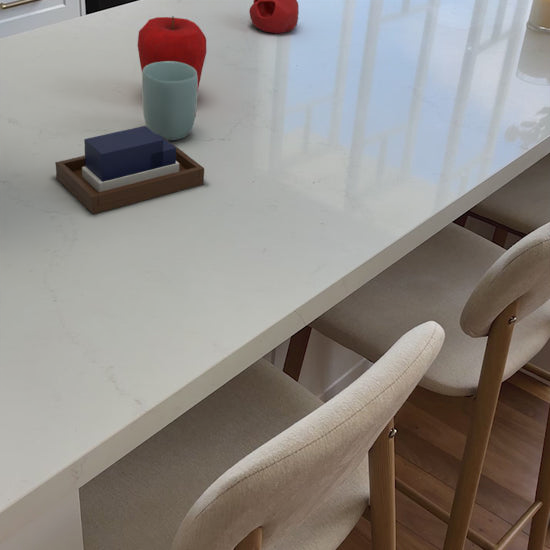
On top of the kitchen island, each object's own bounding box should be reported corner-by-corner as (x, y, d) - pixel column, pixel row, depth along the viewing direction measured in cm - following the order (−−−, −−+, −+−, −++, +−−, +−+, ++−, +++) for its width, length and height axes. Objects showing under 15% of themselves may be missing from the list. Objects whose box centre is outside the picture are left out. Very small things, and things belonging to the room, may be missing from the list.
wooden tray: (93, 214, 112) (92, 197, 111) (56, 178, 119) (55, 162, 117) (203, 184, 121) (204, 168, 119) (163, 152, 127) (164, 137, 126)
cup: (204, 140, 132) (207, 76, 126) (158, 150, 128) (158, 85, 122) (179, 119, 137) (180, 57, 131) (133, 129, 133) (132, 65, 127)
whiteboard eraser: (99, 193, 114) (98, 155, 111) (81, 177, 118) (80, 139, 114) (179, 173, 121) (180, 136, 118) (160, 157, 124) (160, 121, 121)
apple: (125, 98, 142) (123, 14, 134) (168, 81, 149) (170, 1, 141) (173, 118, 137) (175, 33, 129) (216, 100, 144) (220, 18, 136)
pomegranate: (285, 18, 181) (289, -29, 176) (306, 34, 174) (311, -13, 168) (240, 20, 177) (243, -27, 172) (259, 38, 170) (263, -11, 165)
